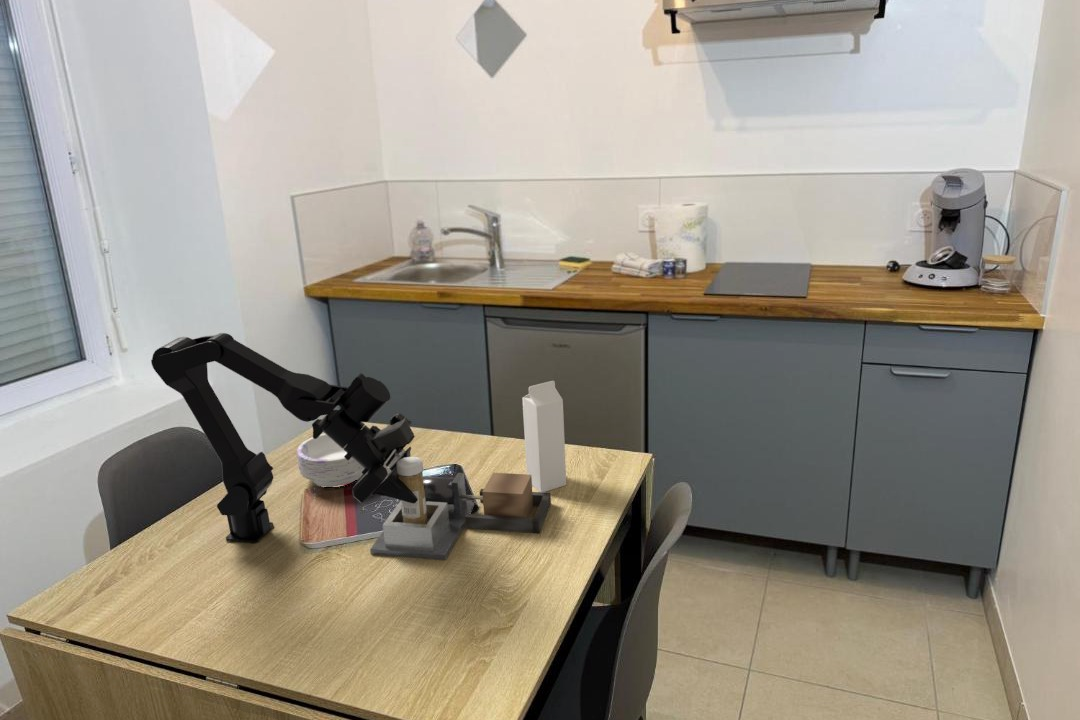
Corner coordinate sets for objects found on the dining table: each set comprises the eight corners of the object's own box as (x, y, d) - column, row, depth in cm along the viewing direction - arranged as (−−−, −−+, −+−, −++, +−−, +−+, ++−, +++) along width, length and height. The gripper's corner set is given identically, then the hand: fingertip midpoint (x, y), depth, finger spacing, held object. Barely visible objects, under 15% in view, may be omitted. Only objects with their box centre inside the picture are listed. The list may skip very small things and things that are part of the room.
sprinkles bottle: (433, 526, 144) (427, 458, 140) (417, 537, 140) (411, 467, 136) (414, 521, 146) (407, 454, 142) (397, 532, 142) (390, 463, 139)
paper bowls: (389, 471, 171) (384, 437, 168) (337, 502, 159) (332, 466, 156) (339, 456, 179) (334, 424, 176) (286, 485, 167) (280, 451, 164)
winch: (370, 553, 141) (365, 517, 138) (409, 500, 158) (405, 467, 156) (472, 562, 137) (468, 524, 134) (500, 506, 154) (497, 472, 152)
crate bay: (466, 528, 147) (463, 494, 145) (482, 499, 157) (479, 467, 155) (539, 533, 144) (537, 499, 142) (550, 503, 154) (549, 471, 152)
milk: (566, 485, 161) (563, 384, 154) (540, 493, 158) (536, 391, 151) (551, 473, 166) (547, 375, 159) (526, 481, 163) (521, 382, 156)
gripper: (362, 430, 128) (433, 494, 129) (399, 388, 145) (461, 444, 147) (322, 472, 131) (392, 533, 133) (363, 426, 149) (424, 480, 151)
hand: (420, 495), depth 141 cm, fingers closed on sprinkles bottle, 4 cm apart
